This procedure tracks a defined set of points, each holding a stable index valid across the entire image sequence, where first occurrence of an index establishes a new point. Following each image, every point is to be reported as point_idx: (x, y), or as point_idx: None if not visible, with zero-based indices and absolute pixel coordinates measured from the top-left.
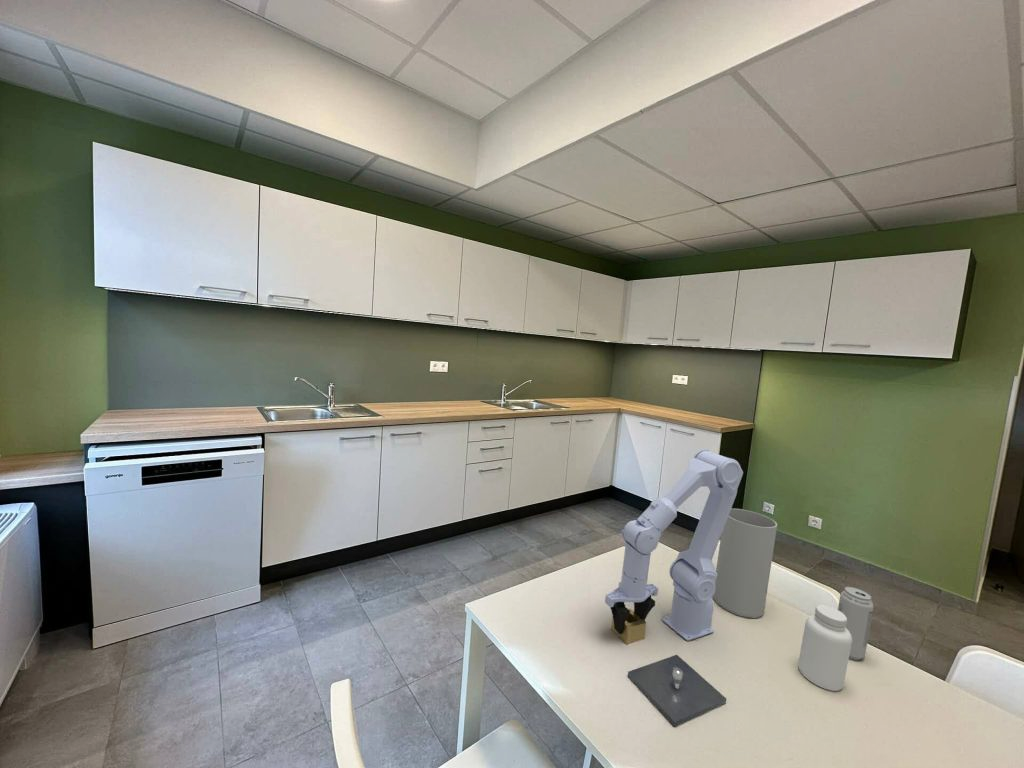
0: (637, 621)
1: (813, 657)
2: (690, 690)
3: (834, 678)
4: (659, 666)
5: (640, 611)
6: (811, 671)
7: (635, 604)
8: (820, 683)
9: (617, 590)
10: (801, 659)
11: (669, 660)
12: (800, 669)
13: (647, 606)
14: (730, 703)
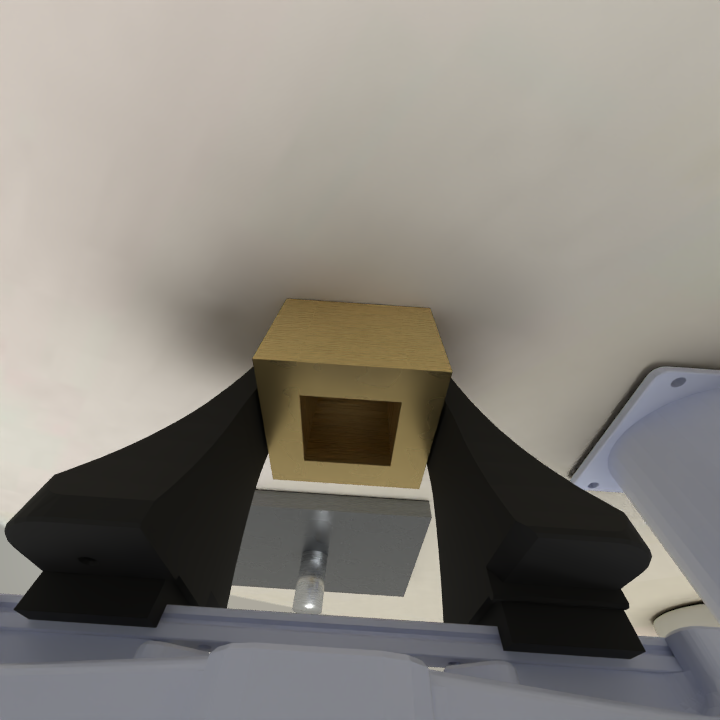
0: (374, 467)
1: None
2: (337, 571)
3: None
4: (320, 520)
5: (441, 484)
6: None
7: (463, 461)
8: (658, 633)
9: (70, 712)
10: None
11: (378, 520)
12: (691, 614)
13: (445, 607)
14: (413, 583)
